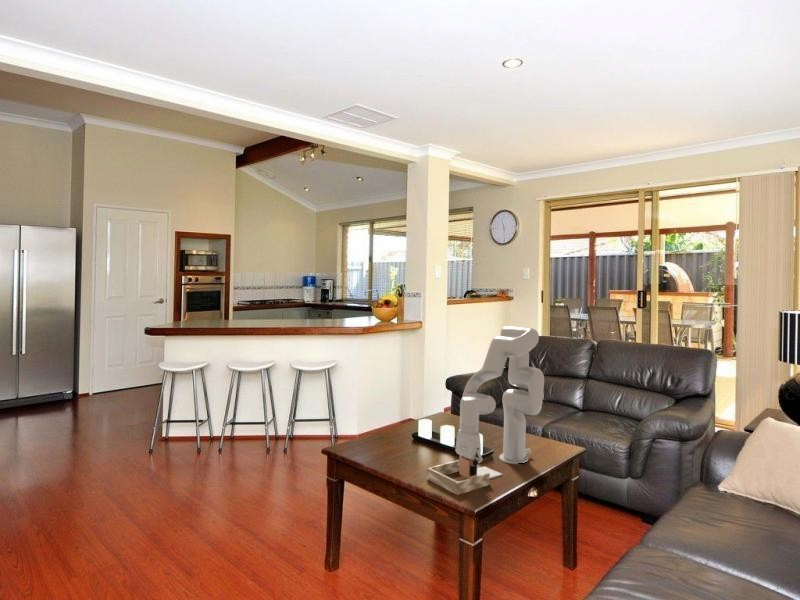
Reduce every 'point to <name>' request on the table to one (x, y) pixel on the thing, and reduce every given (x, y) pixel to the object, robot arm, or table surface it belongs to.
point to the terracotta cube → (465, 467)
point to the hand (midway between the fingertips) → (468, 472)
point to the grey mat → (487, 470)
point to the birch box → (439, 478)
